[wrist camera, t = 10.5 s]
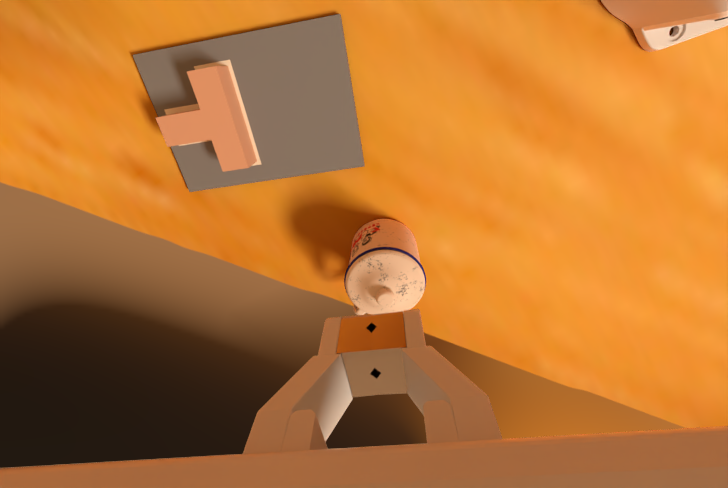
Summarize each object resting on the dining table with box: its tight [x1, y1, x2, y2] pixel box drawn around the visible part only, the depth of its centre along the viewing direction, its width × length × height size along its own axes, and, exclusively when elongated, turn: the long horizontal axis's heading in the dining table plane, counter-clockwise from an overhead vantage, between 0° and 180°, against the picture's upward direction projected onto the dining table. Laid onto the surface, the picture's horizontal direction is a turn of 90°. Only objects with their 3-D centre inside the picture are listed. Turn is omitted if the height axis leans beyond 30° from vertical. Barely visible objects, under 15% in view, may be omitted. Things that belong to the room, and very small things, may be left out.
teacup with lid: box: [344, 219, 426, 315], centre depth 40 cm, size 12×9×12 cm
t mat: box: [133, 14, 364, 192], centre depth 37 cm, size 22×15×1 cm
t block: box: [156, 66, 257, 172], centre depth 36 cm, size 8×10×3 cm
